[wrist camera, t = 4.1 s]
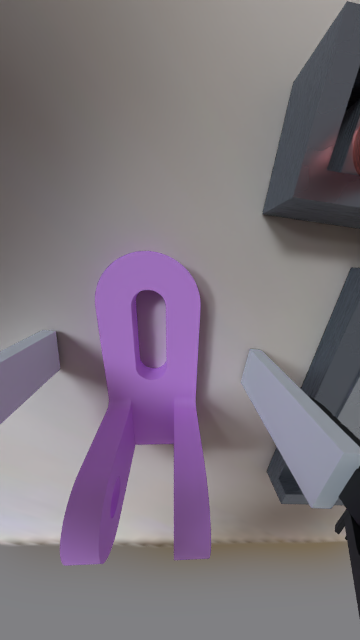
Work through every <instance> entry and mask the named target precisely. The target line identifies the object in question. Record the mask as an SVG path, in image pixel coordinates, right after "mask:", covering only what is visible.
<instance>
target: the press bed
mask: <svg viewBox="0 0 360 640" xmlns="http://www.w3.org/2000/svg"><path fill="white" fill-rule="evenodd" d="M301 390H302V391H303V392H304V393H305V394H306V395H307V396H311V397H312V398H314V399H315V400H317V401H318V402H320V403H321V404H322V405H323V406H325V407H326V408H327V409H328V410H329V411H330V412H331V413H332V415H333V416H335V417H336V418H337V419H338V420H339V421H340V422H341V424H342V425H345V426H346V427H347V428H348V429H349V430H350V431H351V432H352V433H353V434H354V435H355V436H356V437H357V438H358V439H359V440H360V268H351V269H350V272H349V274H348V277H347V279H346V282H345V284H344V286H343V289H342V291H341V294H340V296H339V298H338V301H337V303H336V306H335V308H334V310H333V313H332V315H331V318H330V320H329V323H328V325H327V327H326V330H325V332H324V335H323V337H322V339H321V342H320V344H319V347H318V349H317V351H316V354H315V356H314V359H313V361H312V364H311V366H310V368H309V371H308V373H307V376H306V378H305V380H304V383H303V385H302V388H301ZM267 473H268V475H269V478H270V480H271V482H272V484H273V487H274V489H275V491H276V493H277V496H278V498H279V500H280V502H281V504H309V503H308V501H307V500H306V498H305V496H304V494H303V492H302V491H301V489H300V487H299V485H298V484H297V482H296V480H295V478H294V476H293V475H292V473H291V471H290V469H289V468H288V466H287V464H286V462H285V460H284V459H283V457H282V455H281V453H280V451H279V450H278V448H276V450H275V453H274V455H273V458H272V460H271V462H270V465H269V467H268V470H267ZM334 505H344V504H343V503H342V501H341V500H340V498H338V500H337V501H336V503H335V504H334Z"/></svg>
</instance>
